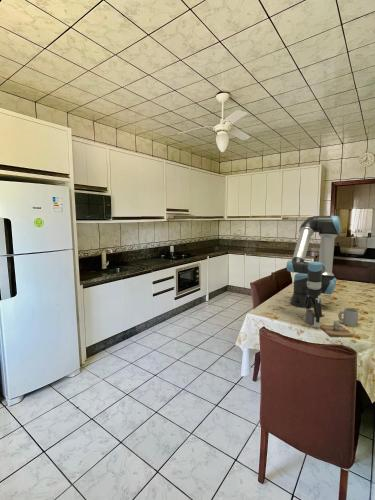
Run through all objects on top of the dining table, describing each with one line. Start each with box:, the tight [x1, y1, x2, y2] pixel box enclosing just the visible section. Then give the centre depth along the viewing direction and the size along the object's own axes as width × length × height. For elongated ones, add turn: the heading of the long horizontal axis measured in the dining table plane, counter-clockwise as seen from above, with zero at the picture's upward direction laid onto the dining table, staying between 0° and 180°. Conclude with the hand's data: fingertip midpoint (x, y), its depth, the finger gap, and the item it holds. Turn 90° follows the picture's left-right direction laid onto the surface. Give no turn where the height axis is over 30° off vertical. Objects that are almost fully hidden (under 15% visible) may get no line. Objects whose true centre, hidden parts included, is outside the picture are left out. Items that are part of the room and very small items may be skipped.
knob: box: [304, 309, 315, 326], centre depth 156 cm, size 7×7×8 cm
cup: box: [337, 307, 359, 328], centre depth 154 cm, size 7×10×9 cm
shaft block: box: [319, 319, 354, 338], centre depth 144 cm, size 12×12×6 cm
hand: (311, 322), depth 156 cm, fingers open, 12 cm apart
